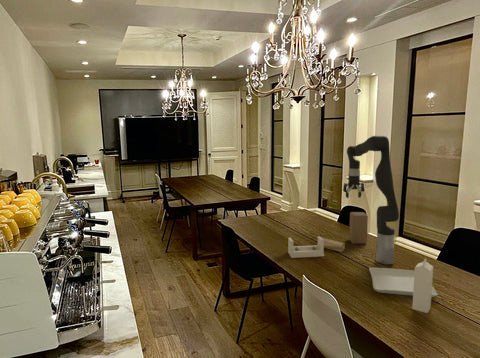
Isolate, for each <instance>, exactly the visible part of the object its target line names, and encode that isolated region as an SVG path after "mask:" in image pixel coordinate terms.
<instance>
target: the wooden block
mask: <svg viewBox="0 0 480 358" xmlns="http://www.w3.org/2000/svg"><path fill="white" fill-rule="evenodd" d="M368 222H369V216H368V215H367V213H365V212H363V211H361V212H360V211H351V212H349V232H348V233H349V235H348V239H349V241H350V242H351V244H354V245H367V243H368V224H369V223H368Z"/></svg>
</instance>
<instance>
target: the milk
mask: <svg viewBox="0 0 480 358" xmlns="http://www.w3.org/2000/svg"><path fill="white" fill-rule="evenodd" d="M414 271H415V273H414V289H413V296H412V306H411V307H412V310H415V311H418V312H422V313H425V314H428V313H429V312H430V309H431V306H432V305H431V304H432V297H431V294H432V286H433V279H434V278H433V276H434V265H432V264H430V263H429V262H428V261H427V258H425V259H423V261H421V262H419V263H417V264H416V265H415V267H414Z"/></svg>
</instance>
